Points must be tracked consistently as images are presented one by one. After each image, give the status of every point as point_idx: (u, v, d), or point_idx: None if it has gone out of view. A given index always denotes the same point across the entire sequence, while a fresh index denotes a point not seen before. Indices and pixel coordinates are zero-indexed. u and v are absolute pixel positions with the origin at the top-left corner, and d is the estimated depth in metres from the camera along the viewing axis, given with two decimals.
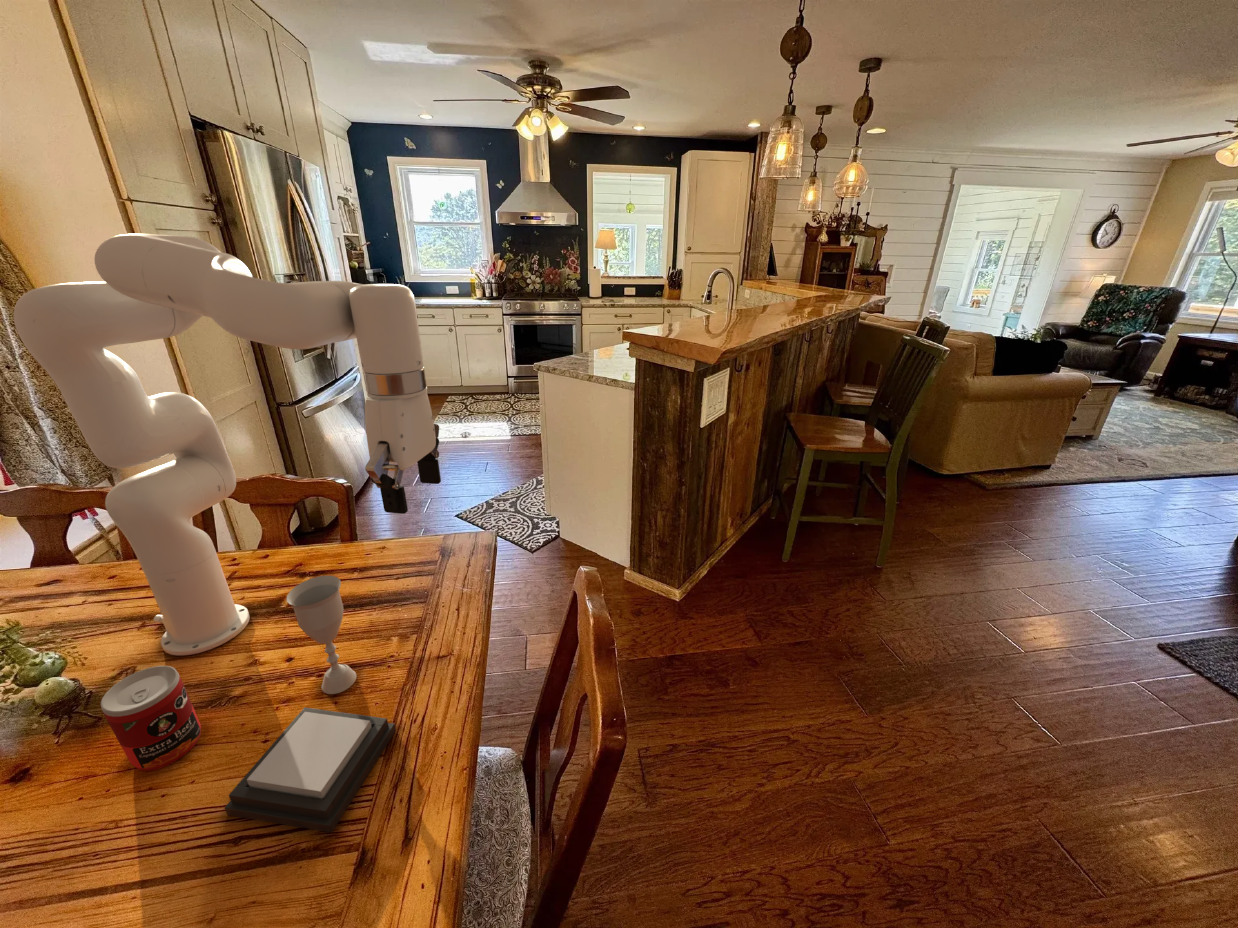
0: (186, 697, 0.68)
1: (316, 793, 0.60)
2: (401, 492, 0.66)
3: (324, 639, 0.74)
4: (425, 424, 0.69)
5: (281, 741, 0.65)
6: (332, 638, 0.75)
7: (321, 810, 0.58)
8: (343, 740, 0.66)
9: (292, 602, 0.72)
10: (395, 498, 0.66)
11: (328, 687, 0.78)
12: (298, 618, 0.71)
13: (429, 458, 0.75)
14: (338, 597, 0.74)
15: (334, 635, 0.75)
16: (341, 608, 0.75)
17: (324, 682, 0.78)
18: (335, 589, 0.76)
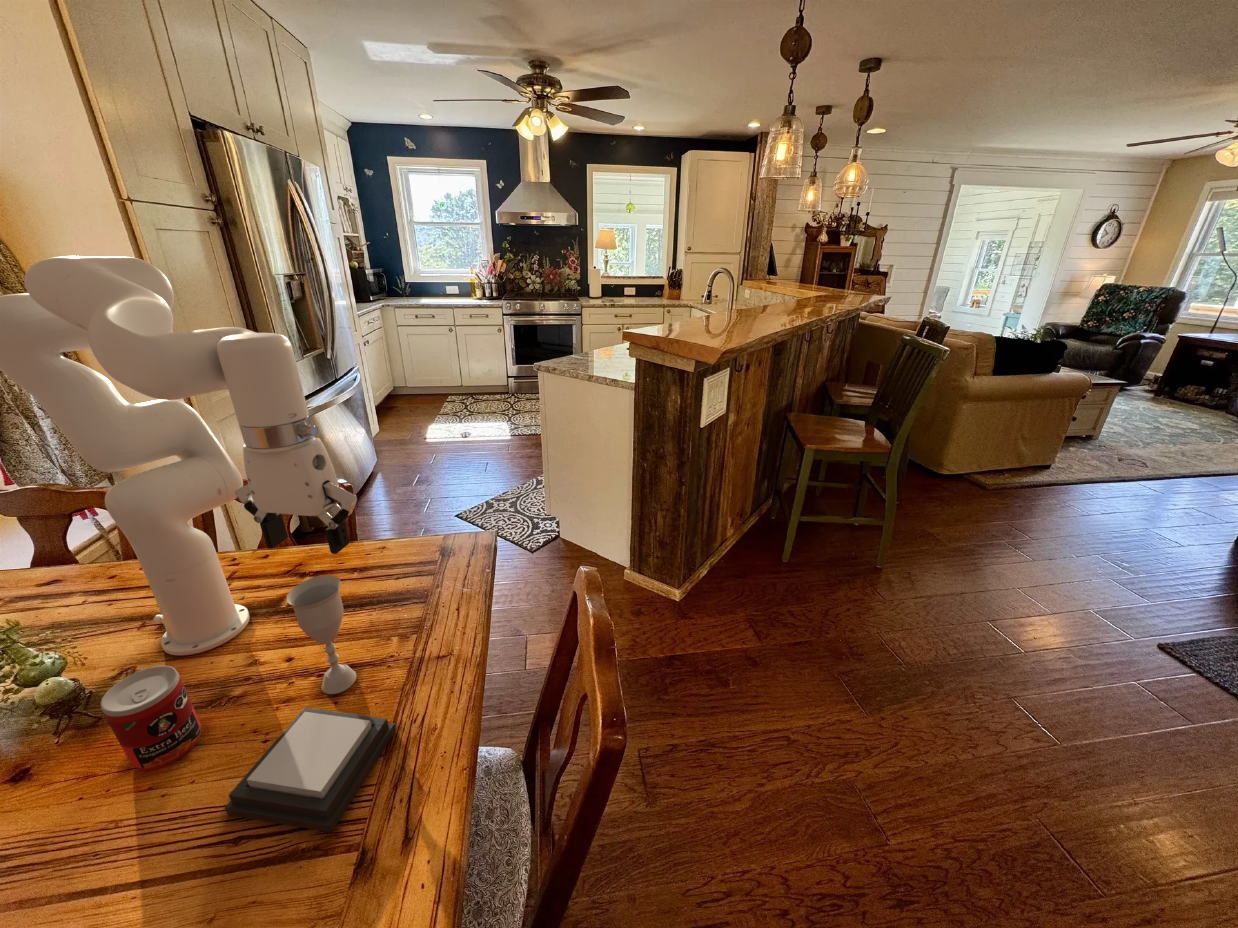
0: (186, 697, 0.68)
1: (316, 793, 0.60)
2: None
3: (324, 639, 0.74)
4: (287, 485, 0.63)
5: (281, 741, 0.65)
6: (332, 638, 0.75)
7: (321, 810, 0.58)
8: (343, 740, 0.66)
9: (292, 602, 0.72)
10: None
11: (328, 687, 0.78)
12: (298, 618, 0.71)
13: None
14: (338, 597, 0.74)
15: (334, 635, 0.75)
16: (341, 608, 0.75)
17: (324, 682, 0.78)
18: (335, 589, 0.76)
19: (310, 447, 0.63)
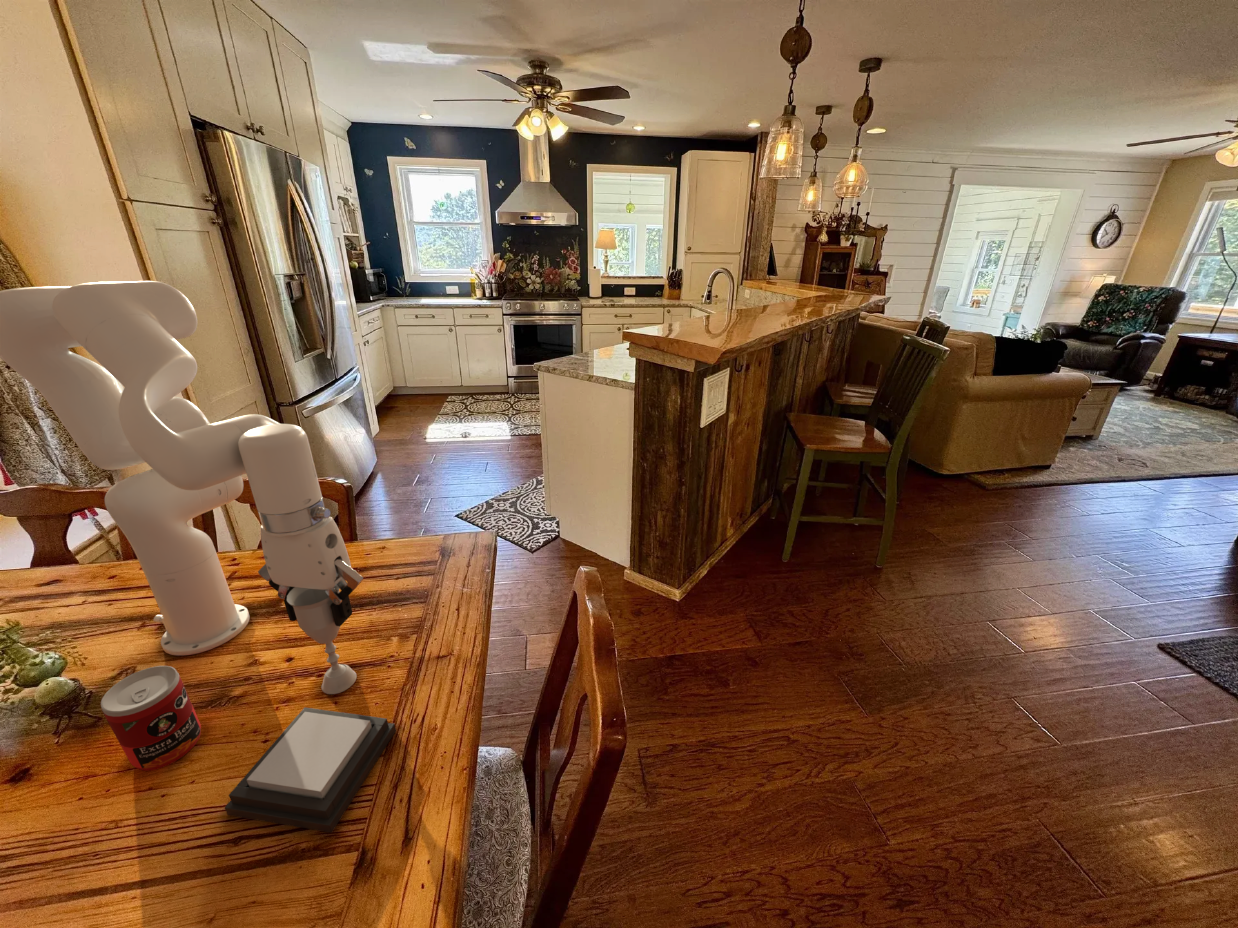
0: (186, 697, 0.68)
1: (316, 793, 0.60)
2: None
3: (324, 639, 0.74)
4: (302, 563, 0.68)
5: (281, 741, 0.65)
6: (332, 638, 0.75)
7: (321, 810, 0.58)
8: (343, 740, 0.66)
9: (292, 602, 0.72)
10: None
11: (328, 687, 0.78)
12: (298, 618, 0.71)
13: None
14: None
15: (334, 635, 0.75)
16: None
17: (324, 682, 0.78)
18: (335, 589, 0.76)
19: (323, 528, 0.68)
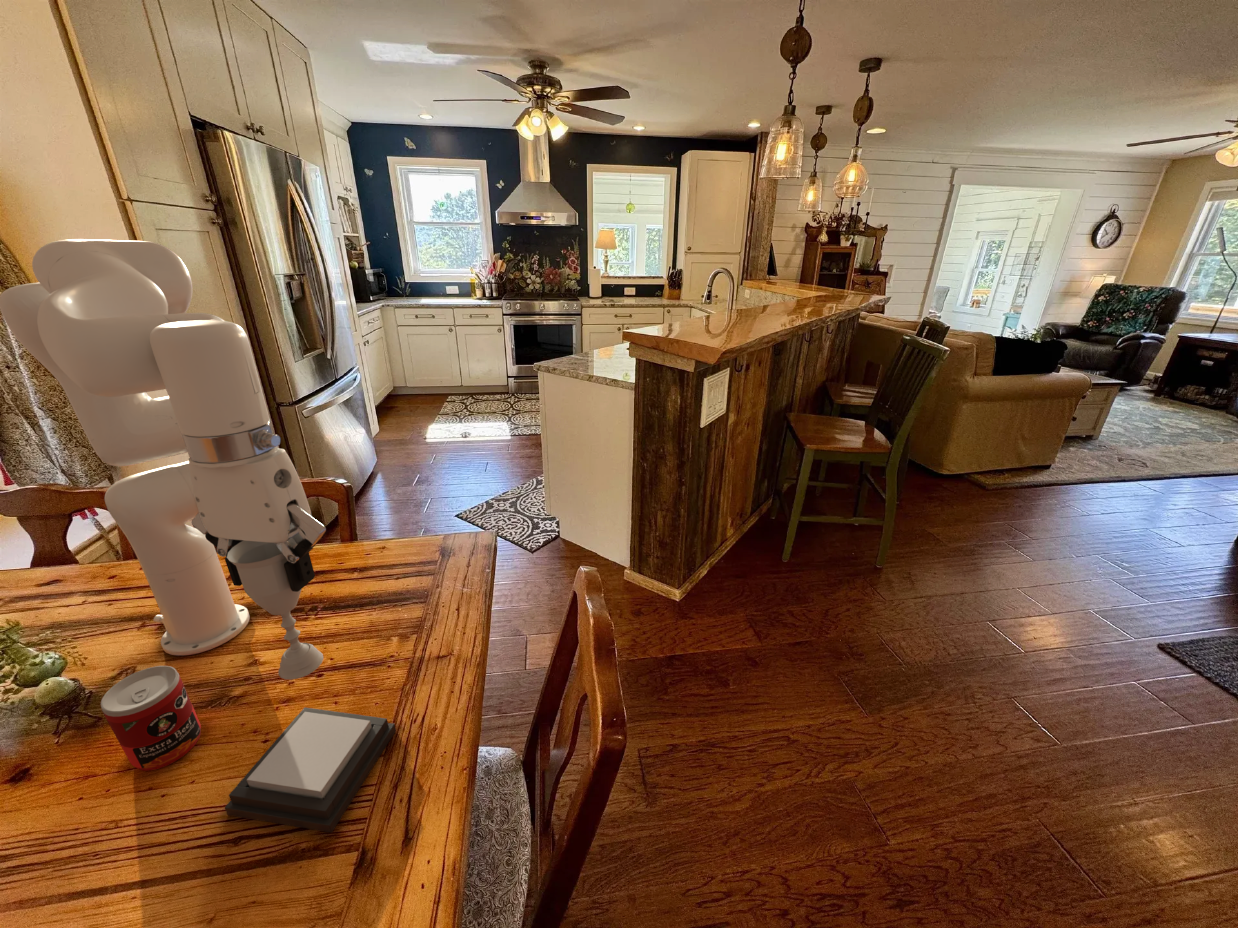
0: (186, 697, 0.68)
1: (316, 793, 0.60)
2: None
3: (278, 609, 0.58)
4: (243, 506, 0.52)
5: (281, 741, 0.65)
6: (289, 608, 0.60)
7: (321, 810, 0.58)
8: (343, 740, 0.66)
9: (235, 560, 0.56)
10: None
11: (286, 671, 0.62)
12: (243, 581, 0.56)
13: None
14: None
15: (292, 604, 0.60)
16: None
17: (281, 665, 0.62)
18: None
19: (271, 460, 0.52)
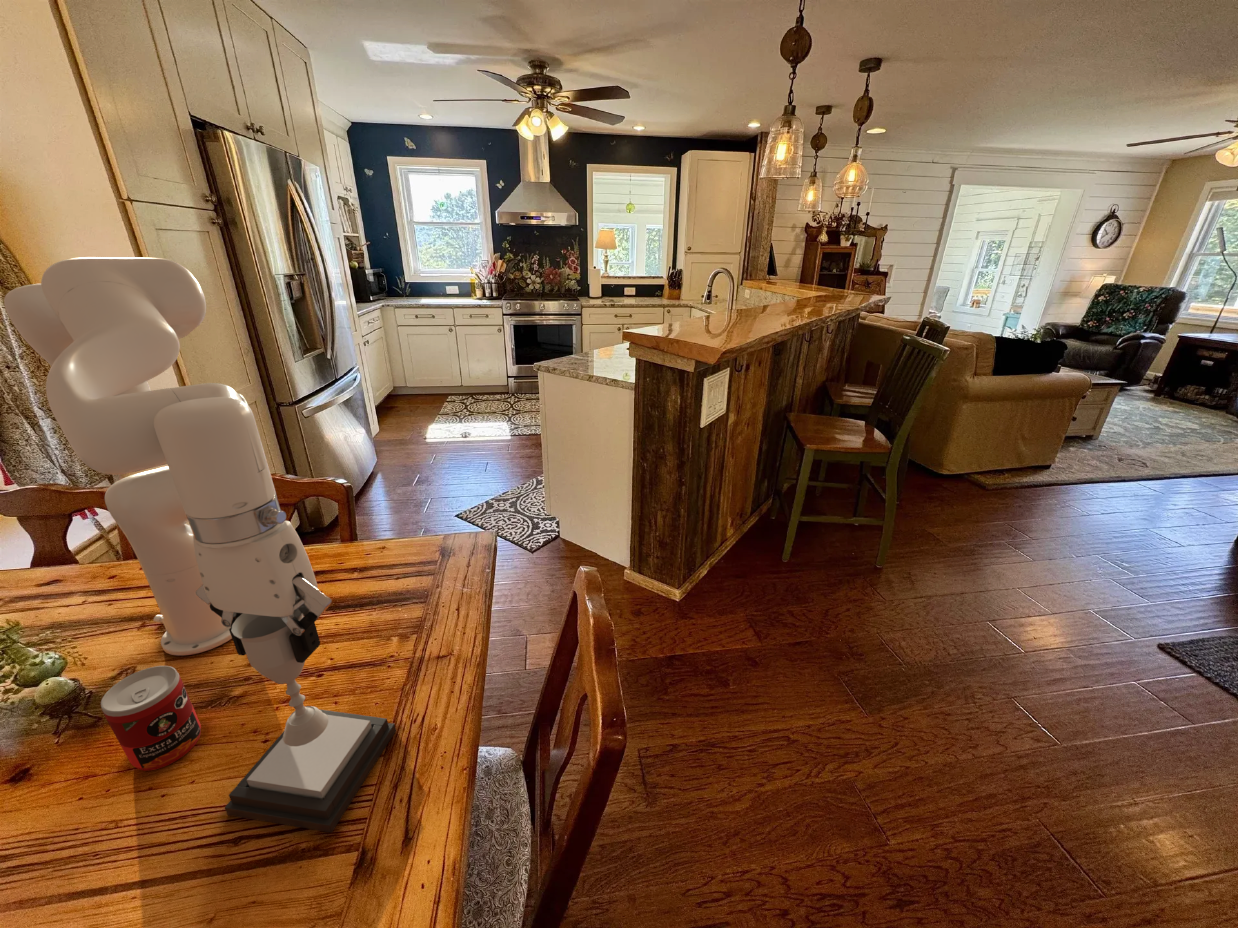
0: (186, 697, 0.68)
1: (316, 793, 0.60)
2: None
3: (283, 678, 0.58)
4: (248, 582, 0.51)
5: (281, 741, 0.65)
6: (294, 676, 0.59)
7: (321, 810, 0.58)
8: (343, 740, 0.66)
9: (240, 632, 0.55)
10: None
11: (290, 737, 0.61)
12: (247, 653, 0.55)
13: None
14: None
15: (297, 673, 0.59)
16: None
17: (286, 731, 0.61)
18: (298, 613, 0.59)
19: (276, 536, 0.51)
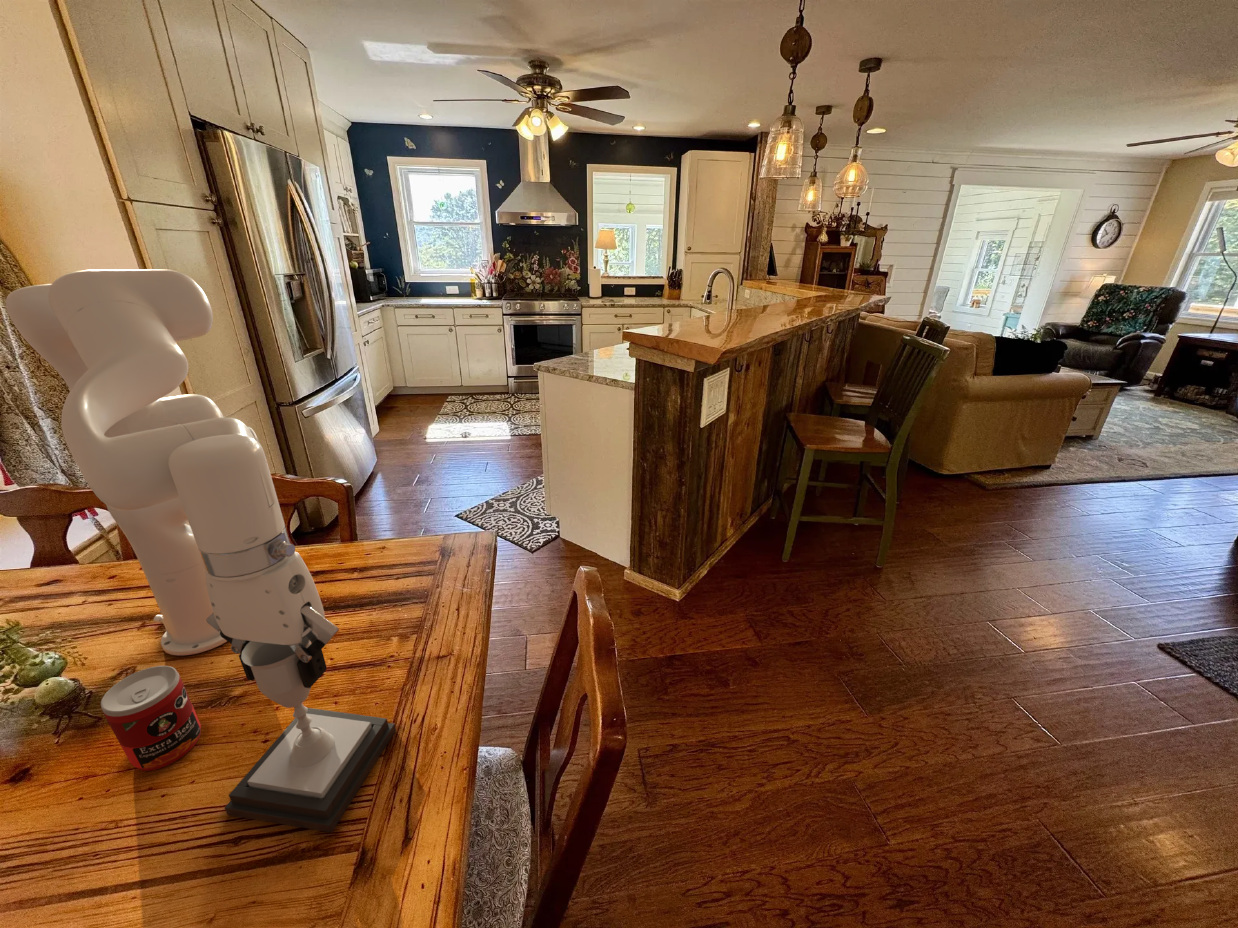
0: (186, 697, 0.68)
1: (316, 795, 0.60)
2: None
3: (291, 703, 0.59)
4: (258, 613, 0.53)
5: (282, 743, 0.65)
6: (301, 700, 0.60)
7: (321, 810, 0.58)
8: (343, 742, 0.66)
9: (249, 659, 0.57)
10: None
11: (297, 758, 0.63)
12: (256, 679, 0.56)
13: None
14: None
15: (304, 697, 0.60)
16: None
17: (293, 752, 0.63)
18: (306, 639, 0.61)
19: (286, 568, 0.53)
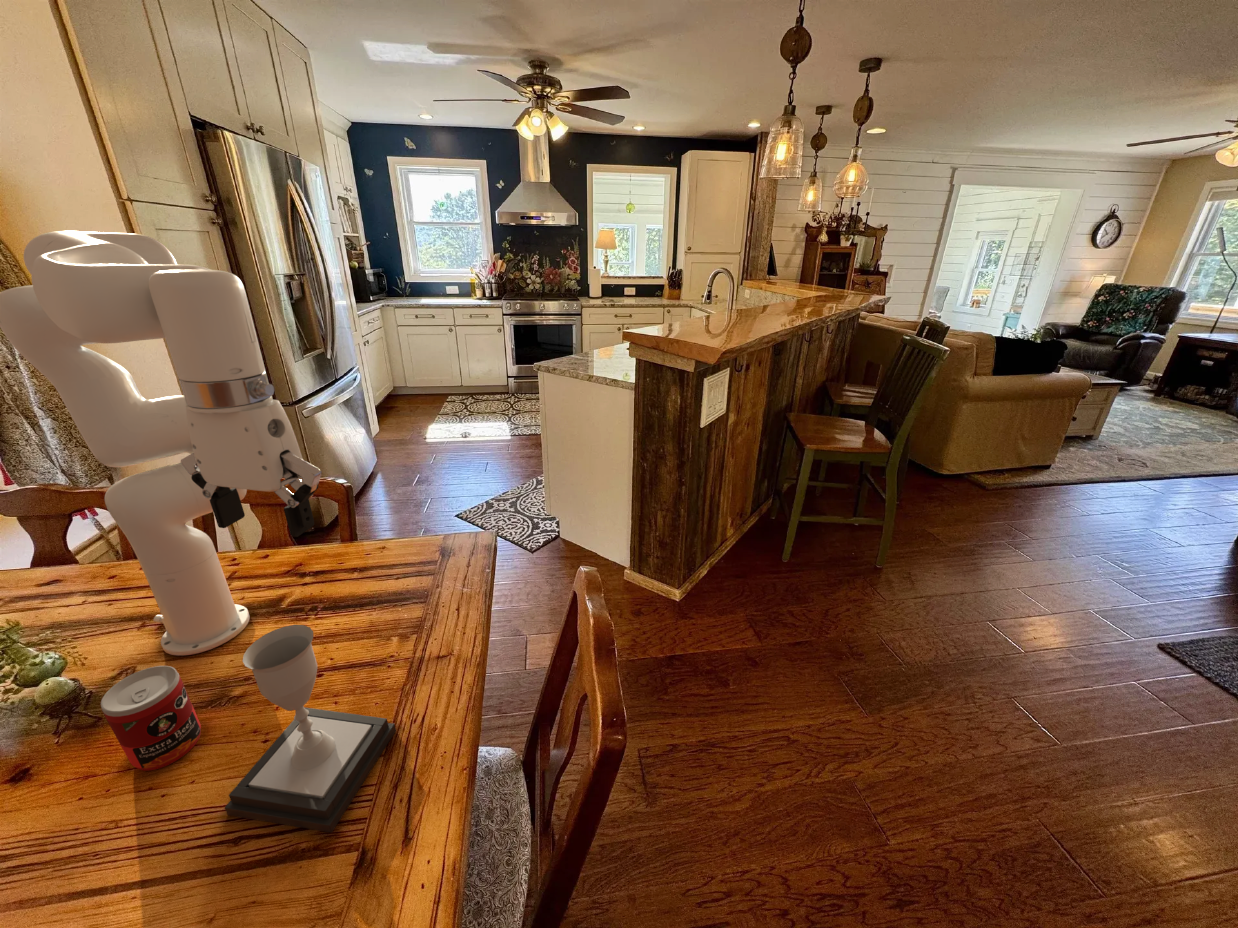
0: (186, 697, 0.68)
1: (317, 798, 0.60)
2: None
3: (292, 706, 0.59)
4: (238, 453, 0.54)
5: (283, 745, 0.66)
6: (303, 703, 0.61)
7: (321, 810, 0.58)
8: (344, 744, 0.66)
9: (250, 662, 0.57)
10: None
11: (298, 761, 0.63)
12: (258, 682, 0.57)
13: None
14: (310, 653, 0.59)
15: (305, 699, 0.61)
16: (314, 666, 0.60)
17: (294, 755, 0.63)
18: (307, 642, 0.61)
19: (265, 409, 0.53)
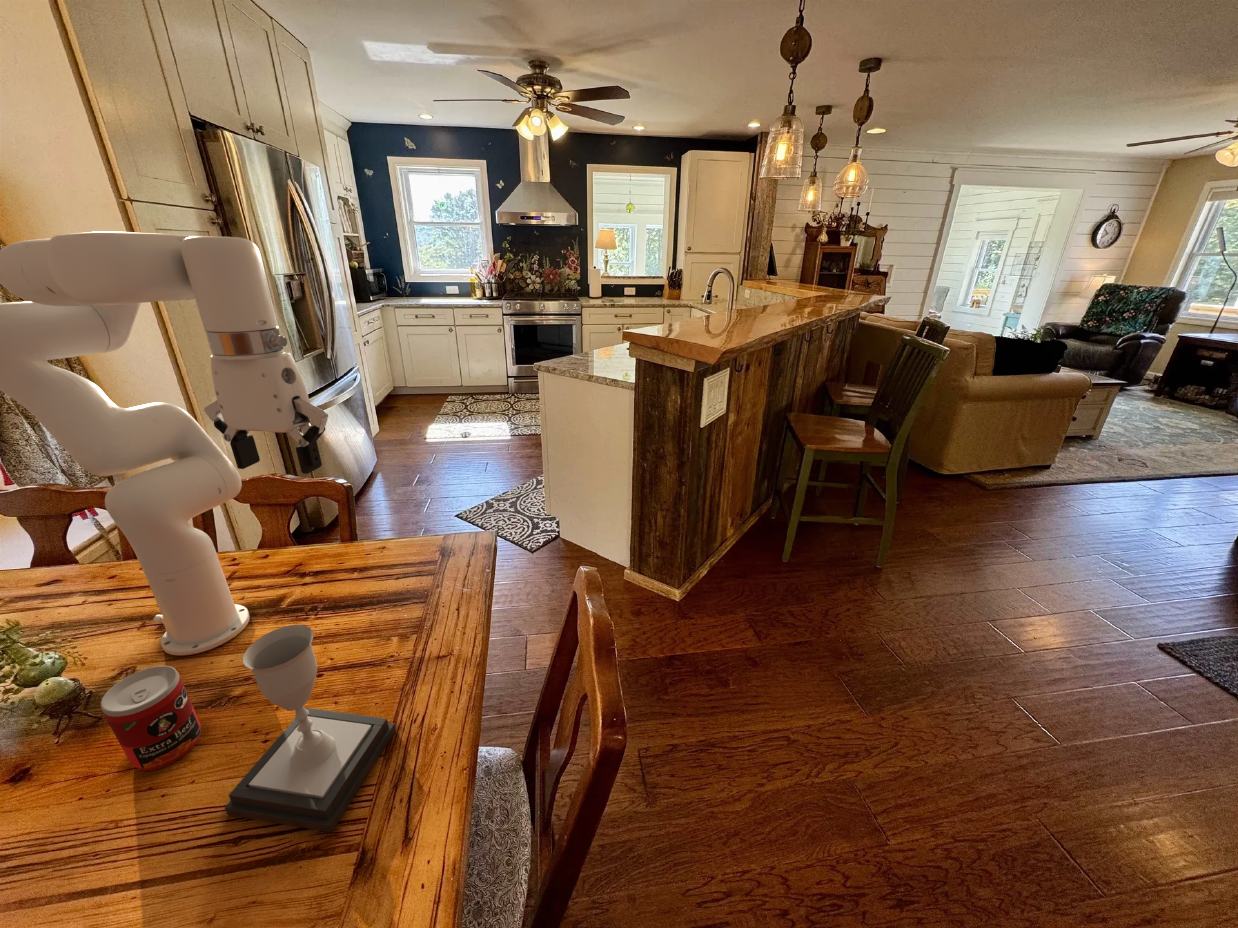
0: (186, 697, 0.68)
1: (317, 798, 0.60)
2: None
3: (292, 706, 0.59)
4: (256, 397, 0.62)
5: (283, 745, 0.66)
6: (303, 703, 0.61)
7: (321, 810, 0.58)
8: (344, 744, 0.66)
9: (250, 662, 0.57)
10: None
11: (298, 761, 0.63)
12: (258, 682, 0.57)
13: None
14: (310, 653, 0.59)
15: (305, 699, 0.61)
16: (314, 666, 0.60)
17: (294, 755, 0.63)
18: (307, 642, 0.61)
19: (279, 358, 0.62)
